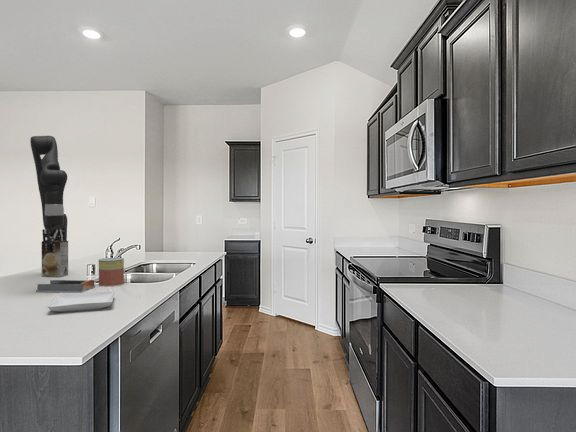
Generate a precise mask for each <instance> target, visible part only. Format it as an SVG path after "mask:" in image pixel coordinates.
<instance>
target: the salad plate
mask: <svg viewBox="0 0 576 432" xmlns="http://www.w3.org/2000/svg"><path fill="white" fill-rule="evenodd" d="M114 295H115V291H113V290H112V291H109V290H108V291H94V292H93V291H91V292H90V291H89V292H81V293H65V294H64V293H63V294H57V295H55V297H54V298H53V299H52V301H51V302H50V303H49V304H48V305H47V309H48V310H50V311H53V312H60V313H64V312H65V313H67V312H79V311H80V312H81V311H89V310H90V311H91V310H101V309H102V310H103V309H105V308H107V307H109V306H111V305H112V303H113V301H114Z"/></svg>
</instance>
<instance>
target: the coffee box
mask: <svg viewBox="0 0 576 432" xmlns="http://www.w3.org/2000/svg"><path fill="white" fill-rule="evenodd" d="M50 241H51V240H50ZM52 244H53V252H51V253H48V252H47V244H46V243H43V240H42V241H41V278H59V279H60V278H64V277H68V276H69V240H67V241H62V240H53V243H52Z"/></svg>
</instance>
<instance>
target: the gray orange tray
mask: <svg viewBox="0 0 576 432" xmlns="http://www.w3.org/2000/svg"><path fill="white" fill-rule="evenodd" d="M36 285H37V289H36V293H69V294H75V293H85V292H86V291H89V290H91V289H95V288H96V285H95V280H94V279H89V280H88V279H87V280H78V279H77V280H75V279H73V280H72V279H66V280H65V279H51V280H49V283H38V284H36Z"/></svg>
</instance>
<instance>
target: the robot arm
mask: <svg viewBox="0 0 576 432" xmlns="http://www.w3.org/2000/svg"><path fill="white" fill-rule="evenodd" d="M57 143H58V142H57V140H56V138H55V137H54V136H53V135H34V136H31V137H30V148H31V152H32V156H33V162H34V165H35V172H36V179H37V185H38V192H39V197H40V203H41V210H42V211H41V213H42V222H43V227H44V228H43V229H42V231H41V232H42V241H43V243H46V244H47V252H48V253H51V252H53V244H52V243H53V240H62V241H68V239H67V238H68V216H67V214H66V213H65V208H64V191H65V188H66V185H67V181H68V174H67V172H66V171H64V170H62V169H61V167H60V163H59V158H58V157H59V152H58V144H57ZM41 156H43V157H41ZM50 240H51V241H50Z"/></svg>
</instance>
